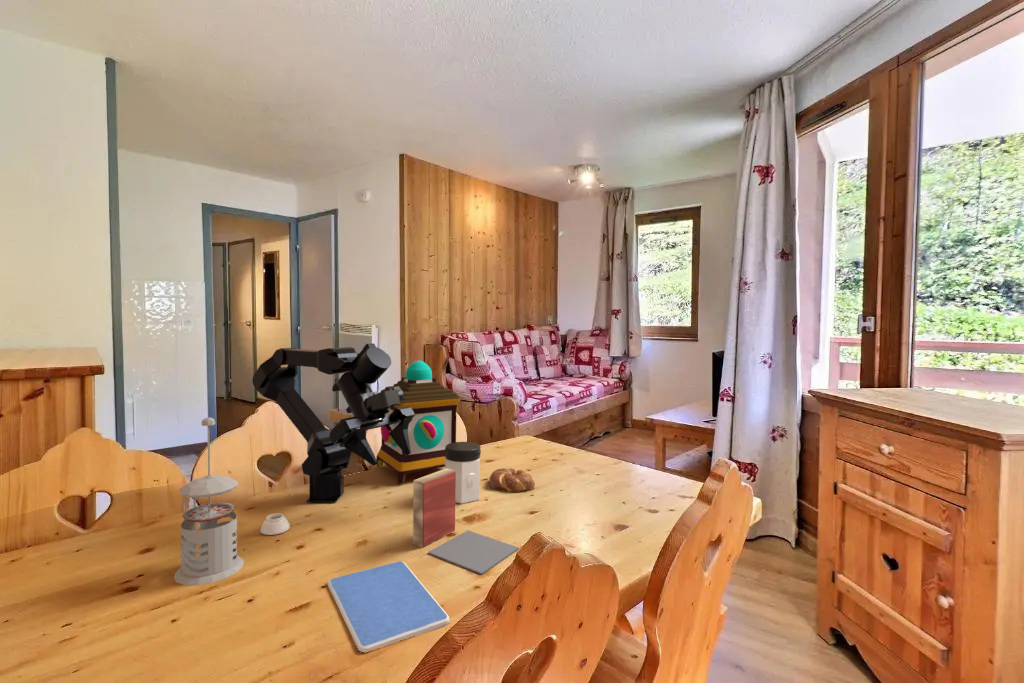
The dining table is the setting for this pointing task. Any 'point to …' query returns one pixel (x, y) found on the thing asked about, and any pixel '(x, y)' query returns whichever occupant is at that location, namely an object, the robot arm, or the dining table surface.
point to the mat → (474, 551)
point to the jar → (464, 469)
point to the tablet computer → (385, 605)
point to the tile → (434, 507)
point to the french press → (208, 531)
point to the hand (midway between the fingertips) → (392, 459)
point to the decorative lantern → (421, 423)
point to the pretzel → (511, 480)
